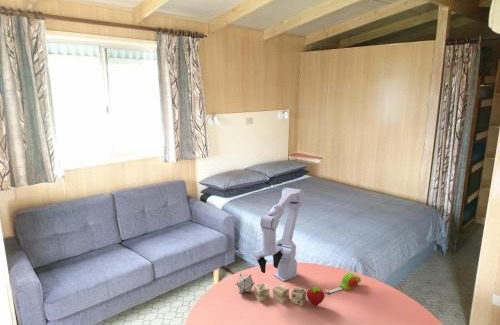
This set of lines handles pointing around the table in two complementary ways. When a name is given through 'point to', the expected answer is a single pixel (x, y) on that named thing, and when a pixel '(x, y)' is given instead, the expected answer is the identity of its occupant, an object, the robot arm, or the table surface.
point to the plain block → (281, 293)
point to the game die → (245, 283)
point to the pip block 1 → (262, 292)
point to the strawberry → (315, 296)
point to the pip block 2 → (298, 296)
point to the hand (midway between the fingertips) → (269, 269)
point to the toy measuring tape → (347, 283)
